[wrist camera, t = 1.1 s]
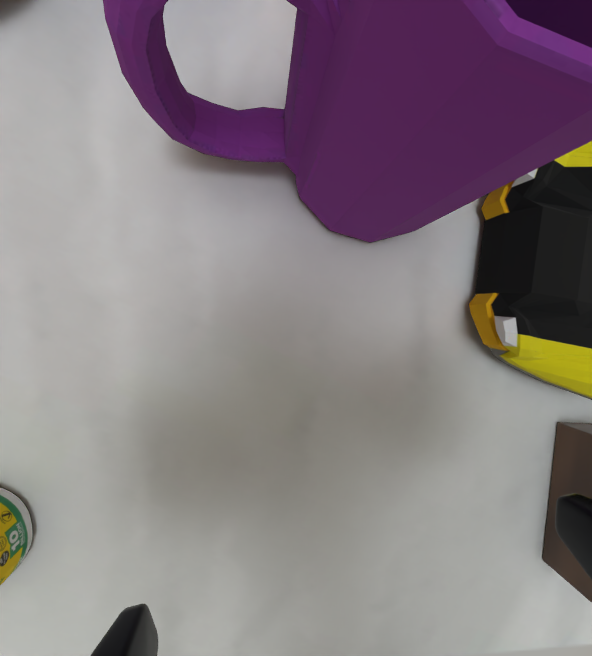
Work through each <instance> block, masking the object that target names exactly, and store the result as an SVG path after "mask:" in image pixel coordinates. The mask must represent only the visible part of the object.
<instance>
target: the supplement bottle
mask: <svg viewBox="0 0 592 656" xmlns="http://www.w3.org/2000/svg"><path fill="white" fill-rule="evenodd" d="M32 537H33V532H32V524H31V518H30V514H29V512H28V510H27V508H26V506H25V505H24V504H23V502H22V501H21V500H20V499H19V498H18V497H17V496H16V495H14V494H13V493H11V492H9V491H8V490H5V489H3V488H0V585H1V584H2V583H3V582H4V581H5V580H6V579H7V578H8V577H9V576H10V575H11V574H12V572H13V571H14V570H15V569H16V568H17V567H18V566H19V565H20V563H21V562H22V561H23V559H24V558H25V556H26V554H27V553H28V550H29V548H30V545H31V542H32Z"/></svg>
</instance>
